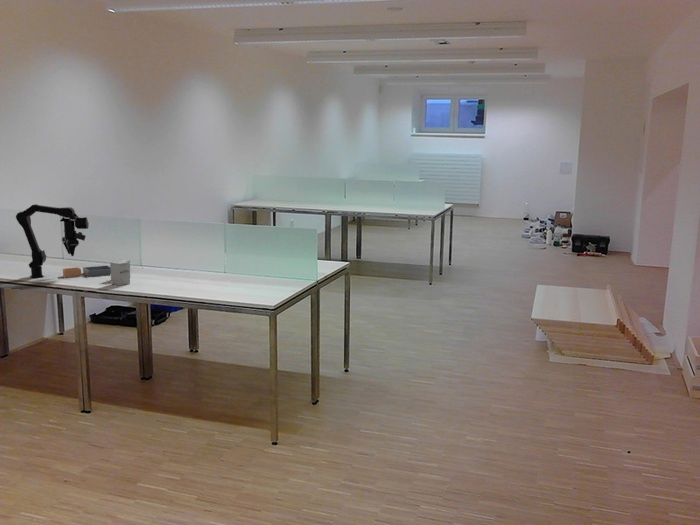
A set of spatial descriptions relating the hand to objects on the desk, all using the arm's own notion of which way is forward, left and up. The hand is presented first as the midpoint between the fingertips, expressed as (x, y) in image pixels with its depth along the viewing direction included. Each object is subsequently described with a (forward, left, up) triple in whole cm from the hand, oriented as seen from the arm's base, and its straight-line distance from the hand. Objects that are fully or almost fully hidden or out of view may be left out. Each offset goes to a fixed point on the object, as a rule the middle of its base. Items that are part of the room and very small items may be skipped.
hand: (71, 254), depth 373 cm
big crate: (0, +15, -13) cm, 20 cm away
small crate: (0, 0, -13) cm, 13 cm away
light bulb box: (+24, +22, -13) cm, 35 cm away
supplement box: (+39, +18, -13) cm, 45 cm away
